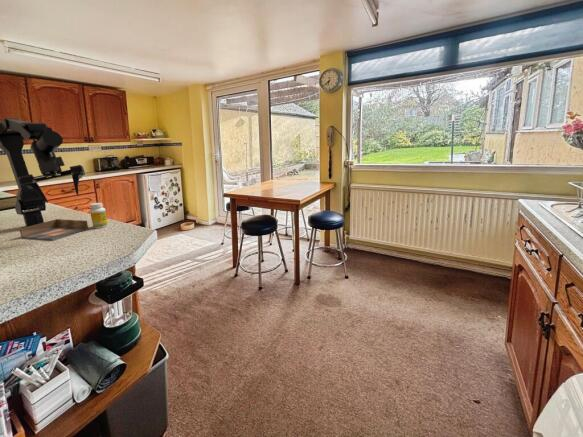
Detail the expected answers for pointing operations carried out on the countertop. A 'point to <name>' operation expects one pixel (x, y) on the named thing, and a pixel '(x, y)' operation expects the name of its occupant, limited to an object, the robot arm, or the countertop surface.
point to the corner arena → (53, 229)
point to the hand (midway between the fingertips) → (62, 198)
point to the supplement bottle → (98, 215)
